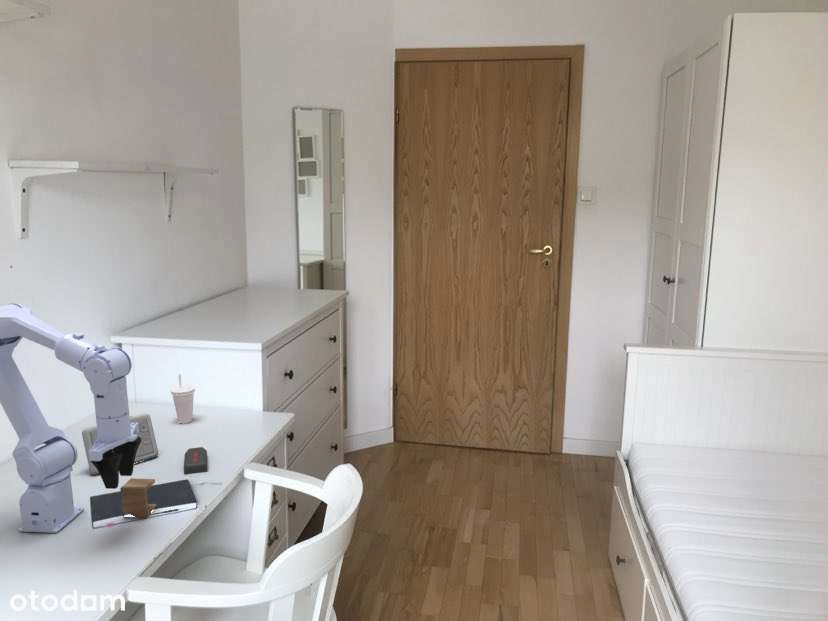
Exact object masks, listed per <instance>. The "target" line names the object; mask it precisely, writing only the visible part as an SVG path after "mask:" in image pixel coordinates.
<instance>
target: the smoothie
mask: <svg viewBox="0 0 828 621" xmlns="http://www.w3.org/2000/svg"><path fill="white" fill-rule="evenodd" d="M178 383H179V384H178V385H179V386H175V387H174V388H172V389H171V390H170V395H172V400H173V403H174V407H175V413H176V417H177V422H179V423H178V424H180V423H187V424H189V423H188V422H190V423H192V422H193V414H194V413H193V411H194V399H195V398H194V396H195V395H194V393H195V392H196V390H195V387H194V386H192V385H182V375H181V374H180V373H179V374H178ZM191 421H192V422H191Z"/></svg>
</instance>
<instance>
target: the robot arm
mask: <svg viewBox="0 0 828 621" xmlns="http://www.w3.org/2000/svg"><path fill="white" fill-rule="evenodd" d="M23 338H24V339H27V340H29V341H31V342H33V343H36V344H38V345H40V346H43V347H45V348H48V349H50V350H53V351H54V356H55V357H56V359H57V360H58V361H60V362H63V363H64V364H66V365H68V366H71V367H72V368H74V369H76V370H78V371H80V372H82V373H83V376H84V378H85V380H86V381H87V382H88V383H89V386H90V391H91V393H92V395H93V403H94V410H95V411H94V412H95V419H96V426H97V432H98V438H97V439H96V441H95V443H94V445H93V447H92V448H91V449H90V450H89V451H88V452H89V461H90V462H91V463H92V464H93V465H94V466H95V467H96V469H97V470H98V472H99V474H98V475H99V476H100V477H101V480H102V482H103V485H104V487H105V489H109V490H110V489H114V490H115V489H117V488H118V487H119V484H120V476H121V477H131V476H132V475H133V473H134V472H133V471H134V467H135V464H134V461H135V456H136V453H137V450H138V447H139V445H140V443H141V437H137V435H136V434H134V433H138V432H139V424H138V423H130V417H131V416H130V406H129V396H128V389H127V388H128V385H127V376H128V375H129V374H130V373H131V371H132V366H133V364H132V359H131V357H130V355H129V354H128V352H126V351H125V350H123V349H122V348H121V347H118V346H115V347H111V348H110V347H109V348H108V347H105V345H103V344H102V343H97V342H94V341H92V340H91V339H88V338H86V337H85V334H84V333H82V332H80V331H78V332H70V333H66V334H65V333H64V332H62V331H60V330H58V329H56V328H55V327H53V326H52V325H50V324H49V323H47V322H45V321H43V320H41V319H40V318H38V317H36V316H35V315H33V312H32V310H31V308H30V307H25V306H24V305H23V304H20V303H17V302H11V303H8V304H6V305H1V306H0V405H1V407H2V408H3V409H2V410H3V411H4V412H5V414H6V416H7V418H8V420H9V422H10V424H11V426H12V427H13V430H14V431H15V433H16V435H17V437H18V442H17V443H16V446H15V447H14V450H12V454H11V455H12V457H13V459H14V461H15V465H16V466H15V467H16V471H17V474H18V476H19V477H20V479H21V480H22V481H23V482H24V483H25V484H26V485H28V486H27V488H26V489H25V491H24V492H23V493H22V494H21V496H20V498H19V502H18V505H19V512H20V520H21V526H20V527H19V528H18V532H21V533H23V532H25V533H52V534H53V533H54V534H55V533H59V531H61V530H62V529H63V528H64V527H66V526H67V525H68V524H69V523H70V522H71V521H73V520H74V519H75V518H76V517H77V516H79V515H80V514H81V513H82V512H84V510H85V508H84V506H81V507H80V506H75V505H74V504H75V503H74V497H73V496H74V495H73V486H72V480H71V479H72V478H71V477H72V476H71V472H73V466H74V464H76V462H77V461H78V457H79V456H78V449H77V448H76V445H75V444H74V443H73V442H72V441H71V440H70V439H69V437H67V436H66V434H65V433H64V432H65V431H64V430H63V429H59V428H57V427H54V426H51V425H49V424H48V421H47V420H46V418H45V416H44V414H43V412H42V411H41V408H40V407H39V405H38V403H37V401H36V399H35V397H34V395H33V394H32V392H31V390H30V388H29V386H28V384H27V382H26V380H25V378H24V377H23V374H22V373H21V371H20V368H18V365H17V364H16V362H15V361H16V360H14V357H13V352H14V350H15V348H16V347H17V346H18V345H19V344H20V342H21V341H22V339H23ZM40 445H42V446H40ZM38 446H40V447H38ZM37 447H38V448H37ZM112 449H113V451H114V452H112ZM114 453H115V454H114Z"/></svg>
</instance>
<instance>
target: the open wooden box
mask: <svg viewBox="0 0 828 621" xmlns="http://www.w3.org/2000/svg"><path fill="white" fill-rule="evenodd" d="M154 484H156V479H155V478H132V477H131V478H129V479H128V481H126V482H125V483H124V484H123V485H122V486H121V487H119V490H120V500H121V510H122V514H123V513H124V514H131V515H133V516H135V517H137V518H136V519H148V518H149V517H150V516H151V515H152V514H151V511H152V510H153V509H154V507H156V505H157V506H158V504H156V503H148V502H149V501H148V490H149V489H150V488H151V487H152V486H153V485H154Z"/></svg>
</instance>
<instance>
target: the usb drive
mask: <svg viewBox="0 0 828 621" xmlns="http://www.w3.org/2000/svg"><path fill="white" fill-rule="evenodd" d="M183 460H184V461H183V475H190V474H191V475H192V474H200V473H201V474H202V473H207V472H208V469H209V467H208V460H209V459H208V450H206V448H204V447H203V446H199V447H198V446H197V447H190V448H188V449H187V450H186V451H185V452H184V459H183Z"/></svg>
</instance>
